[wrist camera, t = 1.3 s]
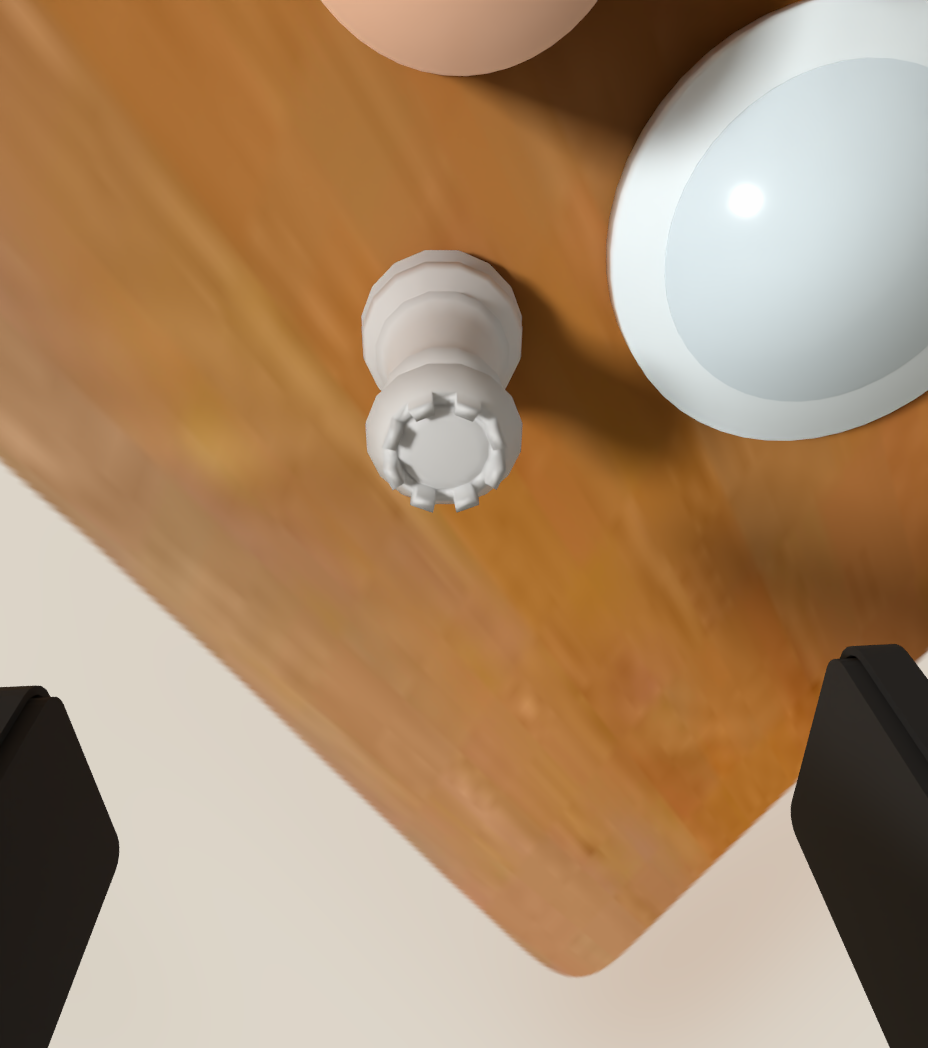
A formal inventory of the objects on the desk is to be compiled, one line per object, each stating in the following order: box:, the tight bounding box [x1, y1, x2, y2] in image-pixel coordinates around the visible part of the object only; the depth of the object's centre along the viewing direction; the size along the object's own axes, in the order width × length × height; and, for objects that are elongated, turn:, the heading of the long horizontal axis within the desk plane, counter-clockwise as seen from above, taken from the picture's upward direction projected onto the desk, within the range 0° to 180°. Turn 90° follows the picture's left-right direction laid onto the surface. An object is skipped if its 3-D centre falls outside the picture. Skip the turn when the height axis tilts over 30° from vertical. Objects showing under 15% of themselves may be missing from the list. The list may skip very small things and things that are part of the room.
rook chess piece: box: [362, 250, 522, 513], centre depth 19 cm, size 4×4×8 cm
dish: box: [606, 0, 928, 441], centre depth 21 cm, size 11×11×1 cm
